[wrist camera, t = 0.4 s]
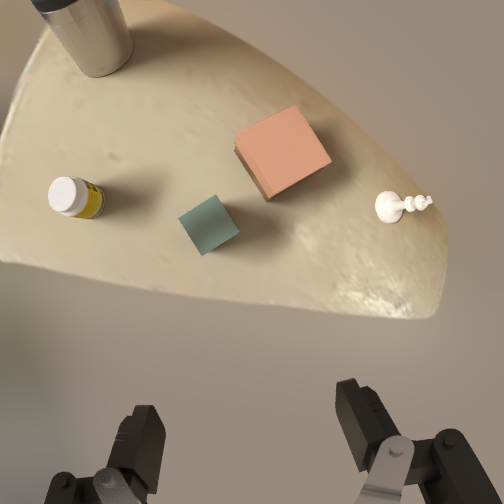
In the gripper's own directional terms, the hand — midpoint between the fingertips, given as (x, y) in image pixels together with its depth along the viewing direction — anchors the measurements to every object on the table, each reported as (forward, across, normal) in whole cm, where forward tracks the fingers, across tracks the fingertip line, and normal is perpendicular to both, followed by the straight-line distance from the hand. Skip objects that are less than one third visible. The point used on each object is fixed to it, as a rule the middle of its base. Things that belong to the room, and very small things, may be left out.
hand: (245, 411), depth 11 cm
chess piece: (+30, -23, -2) cm, 38 cm away
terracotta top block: (+27, -7, -10) cm, 30 cm away
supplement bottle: (+28, +19, -9) cm, 35 cm away
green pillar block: (+28, +3, -2) cm, 28 cm away
